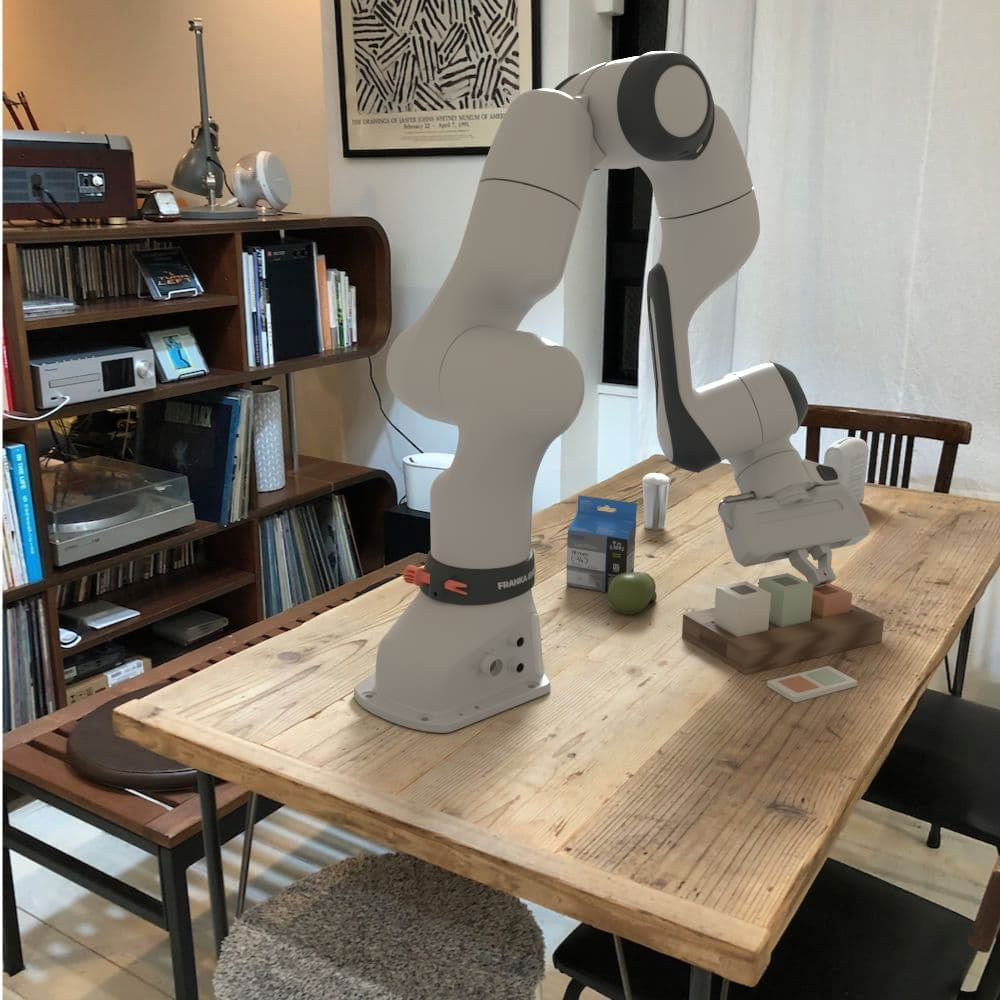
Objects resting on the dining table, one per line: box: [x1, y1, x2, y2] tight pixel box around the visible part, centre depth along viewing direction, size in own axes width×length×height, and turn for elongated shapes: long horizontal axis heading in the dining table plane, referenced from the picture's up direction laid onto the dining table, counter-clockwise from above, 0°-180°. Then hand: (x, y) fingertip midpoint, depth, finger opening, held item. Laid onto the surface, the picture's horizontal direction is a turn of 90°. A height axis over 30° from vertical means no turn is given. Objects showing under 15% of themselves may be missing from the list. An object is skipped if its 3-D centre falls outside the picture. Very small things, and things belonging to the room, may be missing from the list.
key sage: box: [757, 572, 813, 627], centre depth 125 cm, size 4×4×5 cm
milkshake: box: [642, 471, 675, 531], centre depth 168 cm, size 5×5×10 cm
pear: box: [607, 571, 658, 615], centre depth 136 cm, size 6×5×10 cm
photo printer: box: [823, 436, 870, 504], centre depth 181 cm, size 10×4×12 cm, turn 134°
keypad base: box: [681, 603, 885, 676], centre depth 126 cm, size 21×12×3 cm, turn 116°
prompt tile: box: [766, 665, 858, 703], centre depth 114 cm, size 9×4×1 cm, turn 116°
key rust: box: [811, 583, 853, 618], centre depth 128 cm, size 4×4×5 cm
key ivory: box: [714, 581, 771, 637], centre depth 122 cm, size 4×4×5 cm
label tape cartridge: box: [565, 494, 638, 593], centre depth 142 cm, size 9×4×12 cm, turn 65°
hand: (824, 583), depth 128 cm, fingers closed, pressing on key rust
